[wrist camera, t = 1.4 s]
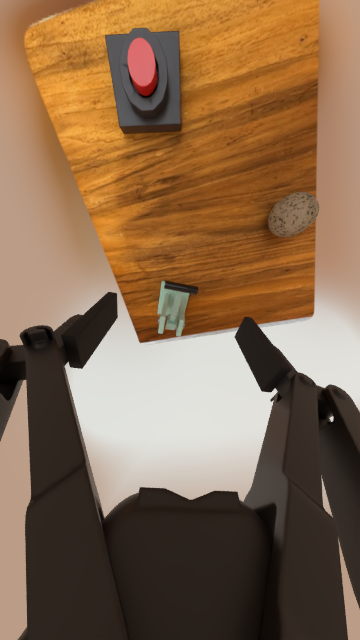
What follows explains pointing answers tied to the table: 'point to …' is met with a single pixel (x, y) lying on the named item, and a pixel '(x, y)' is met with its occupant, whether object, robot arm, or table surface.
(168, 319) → the lever
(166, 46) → the control block
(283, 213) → the decorative egg
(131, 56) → the button
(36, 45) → the table surface
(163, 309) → the bracket
